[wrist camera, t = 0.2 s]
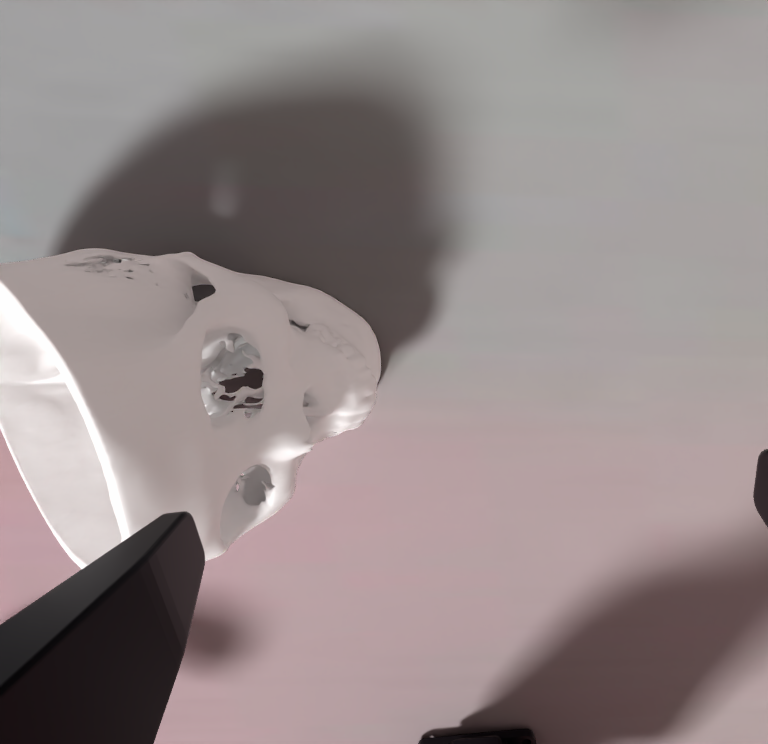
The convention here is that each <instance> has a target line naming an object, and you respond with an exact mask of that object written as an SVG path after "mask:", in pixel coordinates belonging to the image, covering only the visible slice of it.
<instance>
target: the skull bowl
mask: <svg viewBox="0 0 768 744" xmlns="http://www.w3.org/2000/svg"><path fill="white" fill-rule="evenodd" d="M196 285H213V286H214V288H215V289H216V291H215V293H214V294H212V295H211V296H209V297H206V298H204V299H202V300H200V301H199V302H197V301H195V300H194V296H193V291H192V287H193V286H196ZM246 367H247V368H250V369H254V368H255V369H260V370H262V371H263V373H264V375H263V378H264V379H263V383H262V387H260V388H259V389H252V388H250V387H248V386H247V387H243V386H242V387H241V388H240V389H239V390H238V391H236V392H234V393H225V386H222V385H220V384H219V382H218V381H223V380H225V379H228V380H230V379H233V378H237V377H242V376H245V375H244V374H245V373H247V372H245V371H244V369H245V368H246ZM380 373H381V355H380V348H379V345H378V341H377V338H376V336H375V334H374V332H373V331H372V329H371V327H370V325H369V324H368V323H367V322H366V321H365V320H364V319H363V318H362V317H361V316H359V315H358V314H357V313H356V312H354V311H353V310H351V309H350V308H348V307H347V306H345V305H344V304H342V303H341V302H339V301H338V300H336V299H335V298H333V297H331V296H330V295H328V294H326V293H324V292H323V291H320V290H318V289H315V288H312V287H309V286H305V285H299V284H295V283H290V282H286V281H282V280H279V279H275V278H271V277H266V276H261V275H252V274H244V273H238V272H235V271H231V270H229V269H226V268H224V267H221V266H219V265H216V264H213V263H210V262H208V261H205V260H203V259H201V258H199V257H198V256H196V255H195V254H193V253H192V252H181V253H176V254H166V255H160V256H148V255H139V254H132V253H126V252H120V251H114V250H109V249H101V248H89V249H80V250H75V251H71V252H68V253H64V254H60V255H55V256H50V257H44V258H38V259H33V260H27V261H19V262H9V263H0V428H1V431H2V434H3V436H4V438H5V441H6V443H7V446H8V448H9V450H10V452H11V454H12V457H13V459H14V461H15V463H16V465H17V468H18V470H19V472H20V474H21V476H22V478H23V480H24V482H25V484H26V486H27V488H28V490H29V492H30V494H31V496H32V497H33V499H34V501H35V503H36V505H37V506H38V508H39V510H40V512H41V514H42V515H43V517H44V519H45V520H46V522H47V524H48V526H49V528H50V529H51V531H52V532H53V534H54V535H55V537H56V539H57V540H58V541H59V543H60V545H61V546H62V547H63V548H64V550H65V551H66V553H67V554H68V555H69V556H70V558H71V559H72V560H73V561H74V562H75V563H76V564H77V565H78V566H79V567H80V568H81V569H83V568H85V567H86V566H88V565H89V564H90V563H92V562H93V561H95V560H96V559H98V558H99V557H101V556H102V555H104V554H105V553H107V552H108V551H110V550H111V549H112V548H114V547H115V546H117V545H118V544H120V543H121V542H123V541H124V540H126V539H127V538H129V537H130V536H132V535H133V534H135V533H136V532H137V531H139V530H140V529H142V528H143V527H145V526H146V525H148V524H149V523H151V522H152V521H154V520H155V519H157V518H158V517H159V516H161V515H163V514H165V513H173V512H182V511H187V512H189V513H190V514H191V515H192V516H193V519H194V521H195V524H196V527H197V530H198V533H199V536H200V539H201V542H202V545H203V549H204V553H205V561H206V560H209V559H212V558H215V557H218V556H220V555H222V554H223V553H225V552H226V551H227V550H228V548H229V546H230V545H231V544H232V543H233V542H234V541H236V540H237V539H238V538H239V537H240V536H242V535H243V534H245V533H246V532H247V531H249V530H250V529H252V528H254V527H255V526H257V525H259V524H260V523H262V522H263V521H265V520H267V519H268V518H269V517H271V516H272V515H274V514H275V513H277V512H278V511H279V510H280V509H281V508H282V507H283V506H284V505H285V504H286V503H287V502H288V501H289V500H290V499H291V497H292V496H293V493H294V491H295V487H296V474H297V470H298V468H299V466H300V464H301V462H302V460H303V458H304V456H305V455H306V453H307V452H309V451H311V450H312V449H311V448H312V447H313V446H314V445H315V444H316V443H317V442H320V441H323V440H324V439H326V438H329V437H333V436H336V435H338V434H340V433H342V432H344V431H346V430H349V429H355V428H357V427H359V426H361V425H362V424H363V422H364V419H365V418H367V417H368V416H369V414H370V412H371V409H372V408H373V406H374V405H375V402H376V399H377V396H376V389H377V383H378V381H379V378H380ZM232 374H237V375H232ZM216 391H217V392H216ZM213 392H216V393H215V395H213V394H212V393H213ZM224 394H225V395H227V396H229V397H233V396H236V398H235V399H234V400H233V401H227V400H222V399H219V397H220V396H222V395H224ZM247 397H253V398H257V399H261V398H262V400H261V401H260V402H258V403H245V402H246V401H244V400H245V399H246V398H247ZM240 404H244V405H245V406H254V405H261V404H263V405H262V408H261V409H255V408H238V409H234V408H233V407H234V406H235V405H240ZM231 411H233V412H231ZM245 413H252V414H251V416H250V418H247V417H245ZM242 473H243V474H244V475H243V476H241V474H242ZM237 483H238V485H239V489H238V491H237V490H236V486H237Z"/></svg>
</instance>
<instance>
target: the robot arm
mask: <svg viewBox="0 0 768 744" xmlns="http://www.w3.org/2000/svg"><path fill="white" fill-rule="evenodd" d="M753 497H754V503H755V506H756V509H757V511H758V513H759V514H760V516H761V518H762V519H763V521H764V523H765V524H766V526H767V527H768V449H765V450H764V451H762V452H761V453H760V455H759V458H758V463H757V471H756V478H755V486H754V495H753ZM204 565H205V553H204V549H203V545H202V542H201V539H200V536H199V533H198V530H197V527H196V524H195V521H194V519H193V516H192V515H191V514H190V513H189V512H187V511H182V512H173V513H165V514H163V515H161V516H159V517H158V518H157V519H155V520H154V521H152V522H151V523H149V524H148V525H146V526H145V527H143V528H142V529H140V530H139V531H137V532H136V533H135V534H133V535H132V536H130V537H129V538H127V539H126V540H124V541H123V542H121V543H120V544H118V545H117V546H115V547H114V548H112V549H111V550H110V551H108V552H107V553H105V554H104V555H102V556H101V557H99V558H98V559H96V560H95V561H93V562H92V563H90V564H89V565H88V566H86V567H85V568H83V569H82V570H80V571H79V572H77V573H76V574H74V575H73V576H71V577H70V578H68V579H67V580H66V581H64V582H63V583H61V584H60V585H58V586H57V587H55V588H54V589H52V590H51V591H49V592H48V593H46V594H45V595H44V596H42V597H41V598H39V599H38V600H36V601H35V602H33V603H32V604H30V605H29V606H27V607H26V608H24V609H23V610H22V611H20V612H19V613H17V614H16V615H14V616H13V617H11V618H10V619H8V620H7V621H5V622H4V623H2V624H1V625H0V744H153V743H154V740H155V737H156V735H157V732H158V729H159V726H160V723H161V720H162V717H163V714H164V711H165V708H166V705H167V703H168V700H169V697H170V694H171V691H172V688H173V685H174V682H175V679H176V676H177V673H178V671H179V668H180V664H181V661H182V658H183V655H184V651H185V648H186V644H187V640H188V636H189V631H190V627H191V623H192V618H193V614H194V610H195V605H196V601H197V596H198V592H199V588H200V583H201V579H202V575H203V570H204ZM418 744H536V740H535V736H534V733H533V731H531V730H529V729H518V730H508V731H498V732H487V733H477V734H466V735H456V736H446V737H435V738H425V739H422V740H420V741H419V743H418Z"/></svg>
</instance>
